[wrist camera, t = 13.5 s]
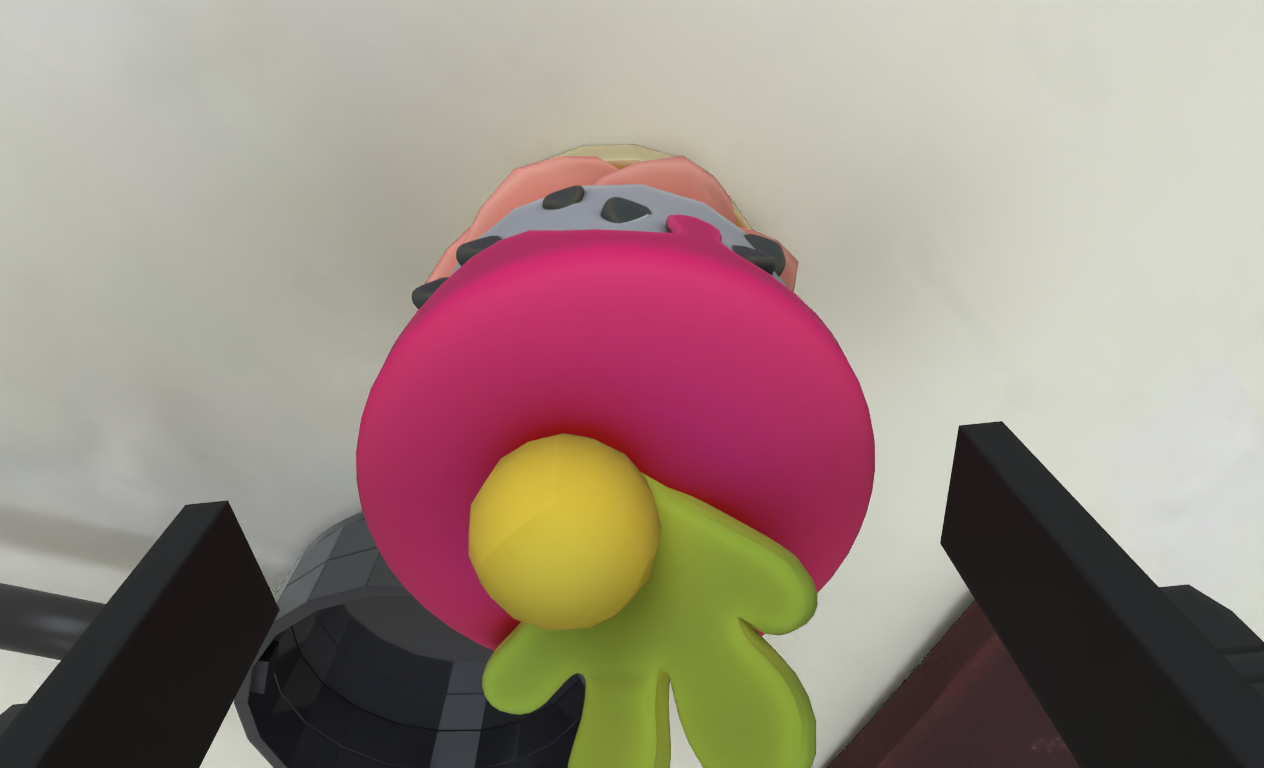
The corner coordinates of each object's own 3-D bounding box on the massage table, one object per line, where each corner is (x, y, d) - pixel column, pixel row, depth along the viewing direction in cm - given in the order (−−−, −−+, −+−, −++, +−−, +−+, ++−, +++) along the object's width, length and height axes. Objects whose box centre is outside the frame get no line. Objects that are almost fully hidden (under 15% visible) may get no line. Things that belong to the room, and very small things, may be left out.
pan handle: (285, 628, 26) (263, 672, 25) (280, 663, 27) (257, 709, 26) (-116, 546, 24) (-173, 589, 22) (-108, 587, 25) (-162, 632, 23)
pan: (647, 546, 28) (654, 635, 24) (555, 747, 34) (548, 844, 30) (305, 462, 26) (251, 545, 22) (269, 694, 32) (222, 792, 28)
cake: (387, 305, 23) (95, 714, 10) (606, 48, 20) (602, 152, 6) (620, 480, 27) (632, 947, 14) (839, 289, 23) (1138, 670, 10)
